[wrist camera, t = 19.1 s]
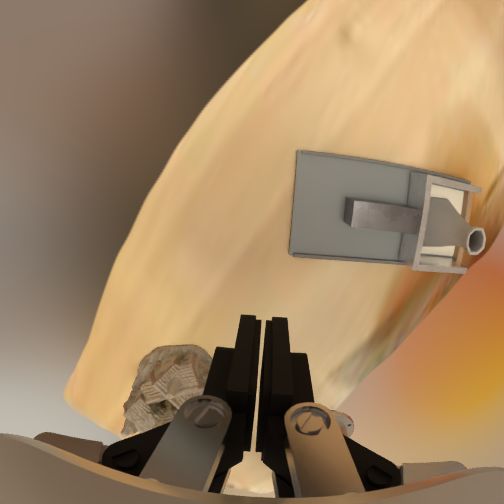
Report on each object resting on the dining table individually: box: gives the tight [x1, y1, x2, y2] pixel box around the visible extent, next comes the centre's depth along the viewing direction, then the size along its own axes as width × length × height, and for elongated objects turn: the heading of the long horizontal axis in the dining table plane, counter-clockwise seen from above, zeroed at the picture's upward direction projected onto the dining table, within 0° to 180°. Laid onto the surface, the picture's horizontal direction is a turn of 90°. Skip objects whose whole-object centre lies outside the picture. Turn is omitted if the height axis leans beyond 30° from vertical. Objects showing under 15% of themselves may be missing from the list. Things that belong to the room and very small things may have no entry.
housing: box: [344, 172, 482, 274], centre depth 32 cm, size 12×18×4 cm, turn 87°
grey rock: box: [121, 345, 212, 437], centre depth 39 cm, size 16×16×15 cm
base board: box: [289, 150, 474, 265], centre depth 34 cm, size 13×26×2 cm, turn 87°
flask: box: [423, 197, 486, 255], centre depth 29 cm, size 7×7×10 cm
